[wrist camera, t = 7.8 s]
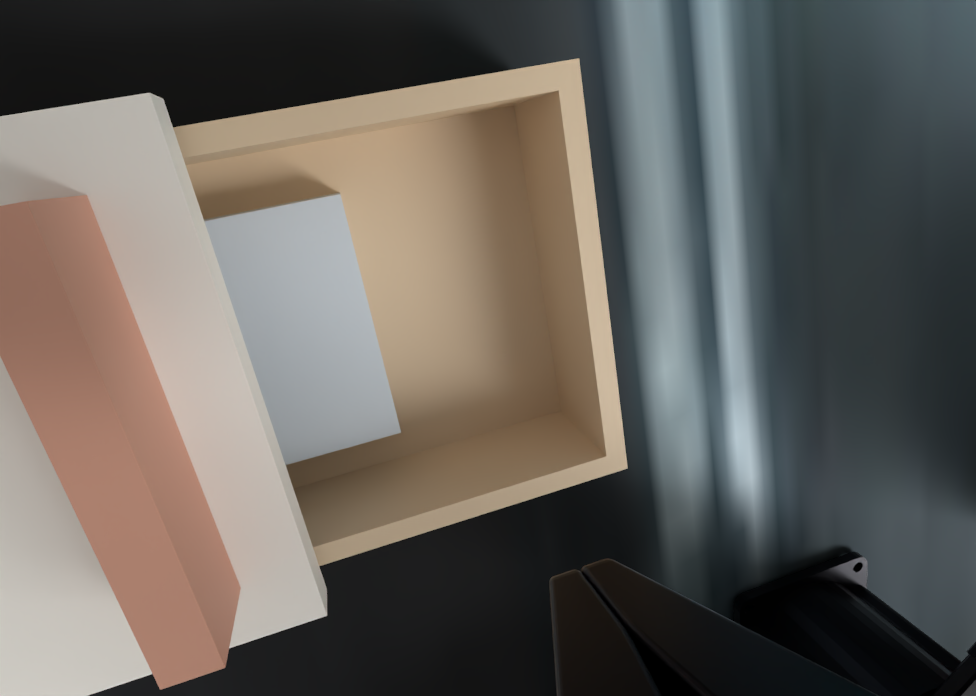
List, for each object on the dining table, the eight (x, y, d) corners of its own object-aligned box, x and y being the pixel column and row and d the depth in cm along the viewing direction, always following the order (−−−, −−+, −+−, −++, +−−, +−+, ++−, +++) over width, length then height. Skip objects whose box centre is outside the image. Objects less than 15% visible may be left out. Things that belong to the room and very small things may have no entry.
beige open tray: (524, 81, 18) (579, 58, 14) (574, 416, 21) (627, 468, 17) (-94, 190, 15) (-236, 197, 11) (86, 559, 18) (25, 659, 14)
